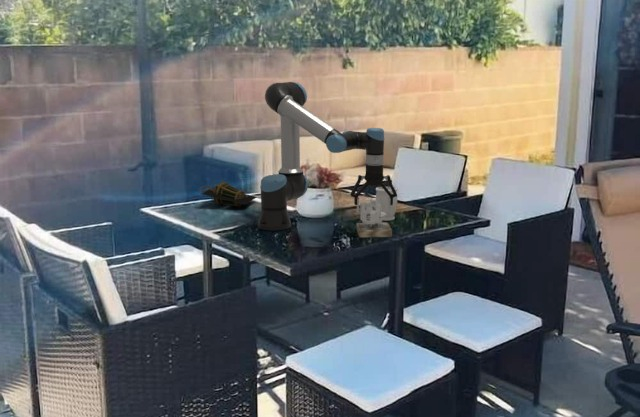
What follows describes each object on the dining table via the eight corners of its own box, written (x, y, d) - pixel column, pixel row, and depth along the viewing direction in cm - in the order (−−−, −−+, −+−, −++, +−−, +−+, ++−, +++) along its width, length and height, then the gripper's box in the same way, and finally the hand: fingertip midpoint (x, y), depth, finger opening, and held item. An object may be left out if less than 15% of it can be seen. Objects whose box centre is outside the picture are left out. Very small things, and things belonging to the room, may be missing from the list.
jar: (395, 221, 316) (396, 190, 313) (373, 221, 318) (374, 189, 315) (397, 216, 326) (398, 186, 323) (376, 216, 328) (377, 185, 325)
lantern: (241, 218, 342) (187, 201, 346) (253, 213, 365) (202, 196, 368) (248, 192, 340) (193, 175, 344) (260, 189, 363) (208, 173, 366)
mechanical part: (389, 224, 297) (390, 198, 295) (379, 230, 287) (379, 203, 284) (366, 221, 302) (366, 195, 300) (355, 227, 292) (355, 200, 289)
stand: (359, 237, 288) (359, 229, 287) (356, 229, 302) (356, 222, 301) (391, 236, 289) (392, 229, 288) (387, 229, 302) (387, 221, 302)
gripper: (346, 165, 285) (345, 214, 289) (404, 165, 286) (403, 214, 290) (344, 162, 292) (344, 210, 297) (402, 163, 293) (400, 210, 298)
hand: (373, 212), depth 293 cm, fingers open, 13 cm apart
